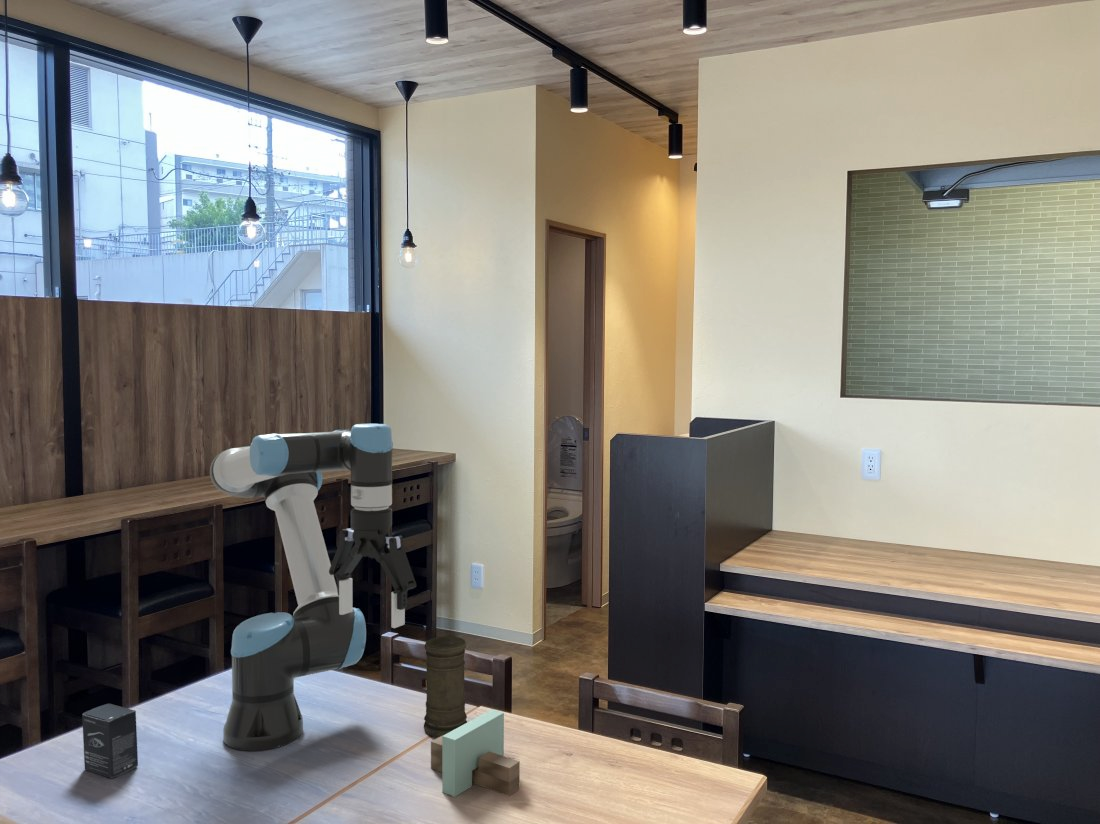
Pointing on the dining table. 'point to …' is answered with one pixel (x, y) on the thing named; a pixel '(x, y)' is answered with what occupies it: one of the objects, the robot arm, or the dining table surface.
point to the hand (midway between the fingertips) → (371, 619)
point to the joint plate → (470, 749)
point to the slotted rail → (486, 770)
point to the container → (445, 685)
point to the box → (110, 740)
